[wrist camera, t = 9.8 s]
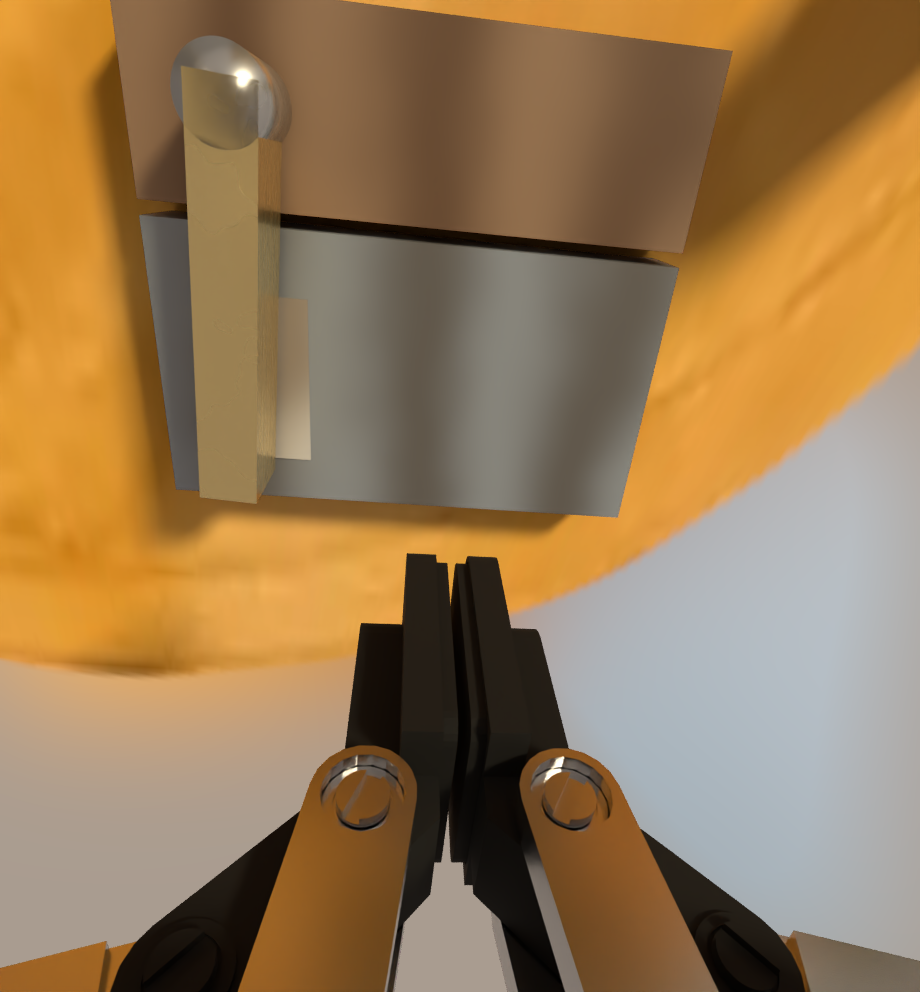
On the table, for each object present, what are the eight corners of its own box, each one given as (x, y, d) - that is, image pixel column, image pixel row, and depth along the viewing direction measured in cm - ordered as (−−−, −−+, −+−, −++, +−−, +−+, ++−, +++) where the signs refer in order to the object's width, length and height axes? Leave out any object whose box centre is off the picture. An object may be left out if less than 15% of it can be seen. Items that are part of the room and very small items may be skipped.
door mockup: (200, 459, 28) (175, 490, 25) (148, -4, 20) (105, -31, 18) (601, 486, 30) (618, 518, 27) (696, 66, 22) (733, 50, 19)
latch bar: (205, 47, 18) (167, 26, 16) (293, 64, 19) (270, 46, 16) (217, 461, 25) (191, 496, 22) (282, 469, 25) (264, 504, 22)
